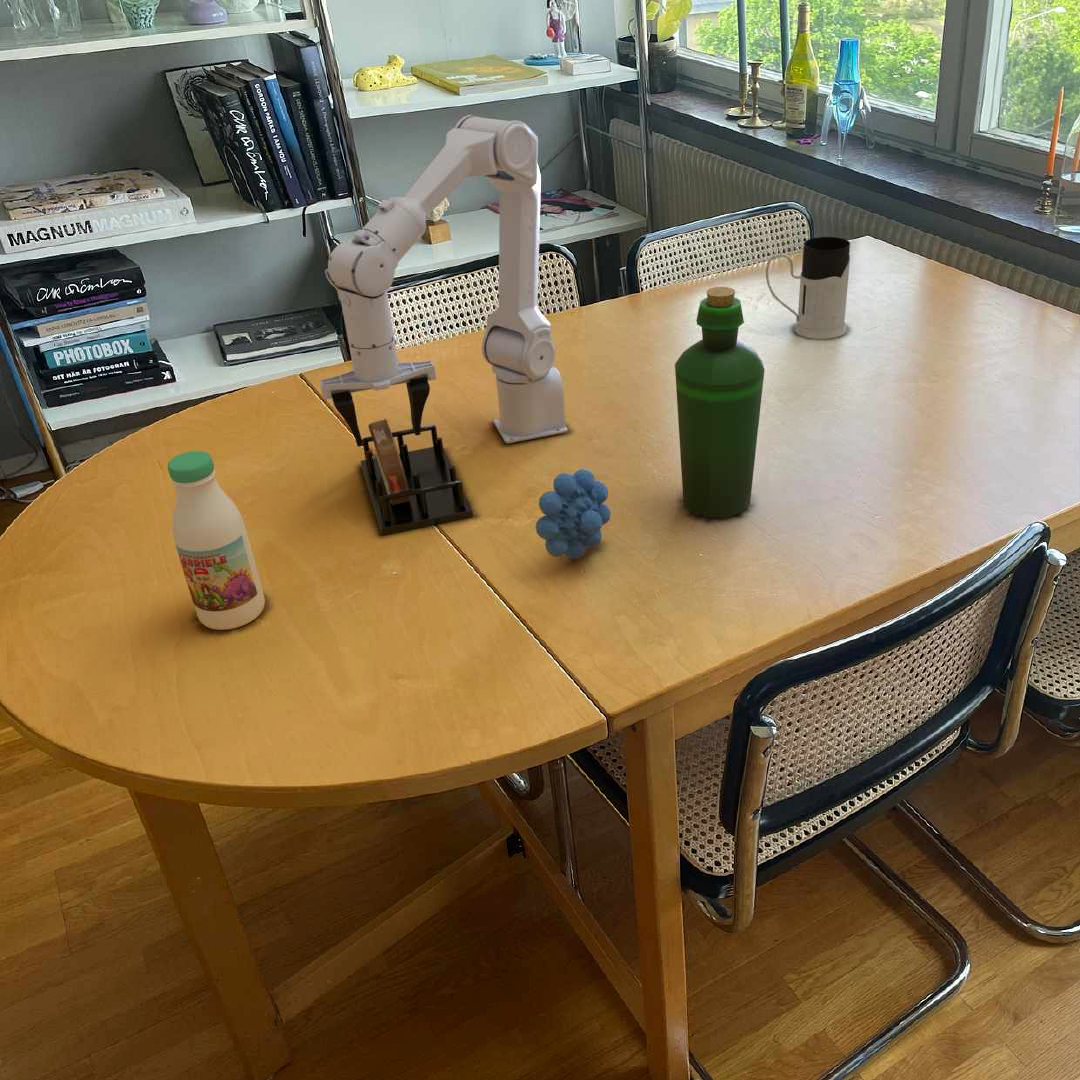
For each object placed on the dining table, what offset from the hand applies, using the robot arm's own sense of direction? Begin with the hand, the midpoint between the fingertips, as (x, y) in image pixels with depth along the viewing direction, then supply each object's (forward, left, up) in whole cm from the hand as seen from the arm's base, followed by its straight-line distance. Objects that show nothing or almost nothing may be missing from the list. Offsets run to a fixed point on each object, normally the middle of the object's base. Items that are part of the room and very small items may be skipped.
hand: (388, 437), depth 136 cm
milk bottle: (+23, +20, -9) cm, 32 cm away
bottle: (-38, +19, -9) cm, 44 cm away
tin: (+1, 0, -8) cm, 8 cm away
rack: (-2, 0, -9) cm, 9 cm away
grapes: (-18, +25, -9) cm, 32 cm away
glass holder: (-76, -29, -9) cm, 82 cm away
